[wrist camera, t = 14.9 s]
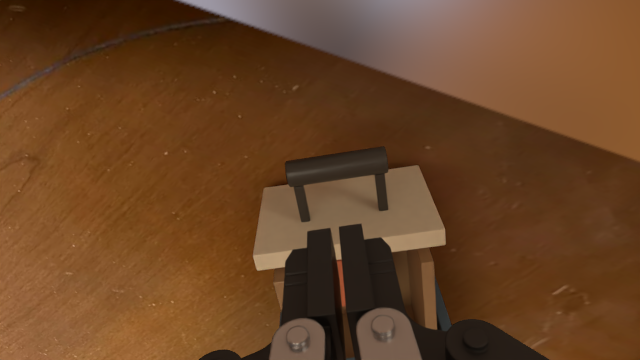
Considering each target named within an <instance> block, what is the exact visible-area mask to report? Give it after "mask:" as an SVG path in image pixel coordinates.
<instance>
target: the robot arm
mask: <svg viewBox="0 0 640 360" xmlns="http://www.w3.org/2000/svg"><path fill="white" fill-rule="evenodd" d="M339 236H340V247H341V259H342V270H343V281H344V292H345V303H346V313H347V318H348V324H349V329H350V335H351V340H352V345H353V351H354V356H355V360H549V359H547V358H546V357H544V356H543V355H541V354H539V353H538V352H536V351H534V350H533V349H531V348H529V347H528V346H526V345H525V344H523V343H521V342H520V341H518V340H516V339H515V338H513V337H512V336H510V335H508V334H507V333H505V332H503V331H502V330H500V329H499V328H497V327H495V326H494V325H492V324H490V323H488V322H485V321H482V320H476V319H467V320H462V321H459V322H457V323H455V324H454V325H452V326H451V327H450V328H449V329H448V331H442V330H435V329H430V328H426V327H423V326H421V325H419V324H417V323H416V322H414V321H413V320H412V319H411V318H410V317H409V316H408V314H407V312H406V310H405V307H404V303H403V299H402V294H401V290H400V286H399V282H398V277H397V273H396V269H395V265H394V261H393V256H392V252H391V248H390V246H389V245H388V244H387V243H386V242H385V241H384V240H383V239H382V238H381V237H379V238H371V239H364V235H363V229H362V223H360V224H353V225H346V226H339ZM284 274H285V277H284V288H283V303H282V317H281V327H279V328H278V329H277V331H276V332H275V334H274V336H273V338H272V342H271V343H270V344H269V345H268V346H266V347H265V348H263V349H262V350H260V351H258V352H255V353H253V354H250V355H248V356H246V357H243V358H240V356H239V355H238V354H236V353H235V352H233V351H230V350H217V351H213V352H210V353H208V354H206V355H204V356H203V357H202V358H200V359H199V360H346V350H345V338H344V326H343V313H342V301H341V288H340V279H339V271H338V265H337V260H336V254H335V249H334V243H333V238H332V233H331V229H330V228H326V229H319V230H312V231H307V248H300V249H293V250H292V252H291V253H290V255H289V256H288V258H287V260H286V261H285V273H284Z"/></svg>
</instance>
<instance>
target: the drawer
mask: <svg viewBox="0 0 640 360" xmlns="http://www.w3.org/2000/svg"><path fill="white" fill-rule="evenodd" d="M285 169H286V177H287V181H288V184H287V185H281V186H274V187H267V188H264V190H263V196H262V202H261V209H260V215H259V221H258V227H257V233H256V240H255V246H254V252H253V258H254V262H255V265H256V268H257V271H259V270H267V269H274V268H275V272H274V283H273V284H274V287H275V291H276V294H277V298H278V301H279V305H280V308H281V312H282V303H283V288H284V277H285V274H284V273H285V261H286V260H287V258H288V256H289V255H290V253H291V252H292V250H293V249H300V248H307V231H312V230H319V229H326V228H330V229H331V233H332V238H333V243H334V249H335V254H336V260H339V259H341V247H340V236H339V226H346V225H353V224H360V223H362V229H363V235H364V239H371V238H379V237H381V238H382V239H383V240H384V241H385V242H386V243H387V244H388V245H389V246H390V248H391V252H392V256H393V261H394V265H395V269H396V273H397V277H398V282H399V286H400V290H401V294H402V299H403V303H404V307H405V310H406V312H407V314H408V316H409V317H410V318H411V319H412V320H413V321H414V322H416V323H417V324H419V325H421V326H423V327H426V328H430V329H435V330H437V316H436V295H435V275H434V261H433V258H432V255H431V252H430V249H429V247H434V246H441V245H445V244H446V240H445V228H444V225H443V223H442V221H441V218H440V216H439V213H438V211H437V209H436V206H435V204H434V201H433V199H432V197H431V194H430V192H429V189H428V187H427V185H426V182H425V180H424V178H423V175H422V173H421V170H420V168H419V166H418V165H415V166H408V167H402V168H395V169H388V161H387V154H386V150H385V147H384V146H383V147H376V148H369V149H363V150H356V151H350V152H343V153H337V154H330V155H323V156H317V157H310V158H304V159H297V160H291V161H286V163H285ZM342 313H343V326H344V338H345V350H346V358H352V357H355V356H354V351H353V345H352V340H351V335H350V329H349V324H348V318H347V313H346V306H343V307H342Z"/></svg>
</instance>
